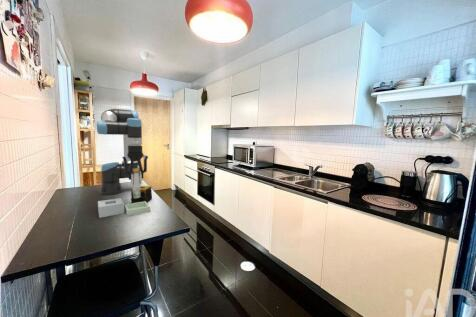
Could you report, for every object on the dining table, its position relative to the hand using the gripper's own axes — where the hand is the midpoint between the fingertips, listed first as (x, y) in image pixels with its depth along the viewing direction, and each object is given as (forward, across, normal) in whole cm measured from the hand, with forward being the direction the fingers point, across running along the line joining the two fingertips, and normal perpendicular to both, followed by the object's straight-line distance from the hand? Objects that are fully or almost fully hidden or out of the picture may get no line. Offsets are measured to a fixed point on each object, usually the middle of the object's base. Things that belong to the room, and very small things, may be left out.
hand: (136, 184), depth 120 cm
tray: (+16, 0, 0) cm, 16 cm away
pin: (+8, 0, 0) cm, 8 cm away
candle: (+17, +6, +17) cm, 25 cm away
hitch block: (+16, -13, +6) cm, 22 cm away
